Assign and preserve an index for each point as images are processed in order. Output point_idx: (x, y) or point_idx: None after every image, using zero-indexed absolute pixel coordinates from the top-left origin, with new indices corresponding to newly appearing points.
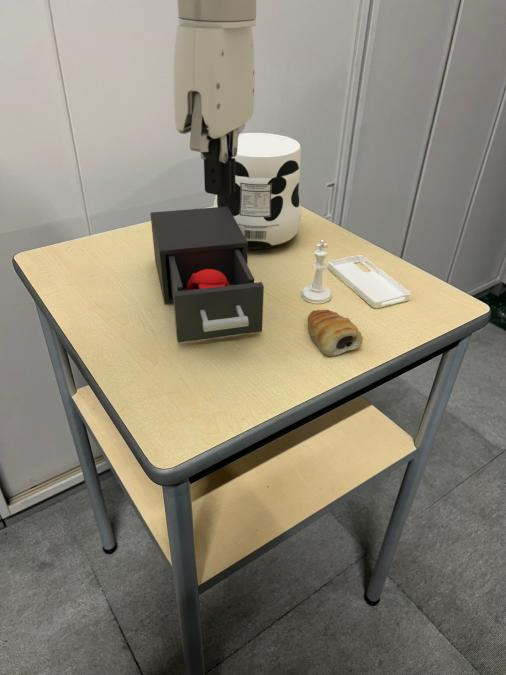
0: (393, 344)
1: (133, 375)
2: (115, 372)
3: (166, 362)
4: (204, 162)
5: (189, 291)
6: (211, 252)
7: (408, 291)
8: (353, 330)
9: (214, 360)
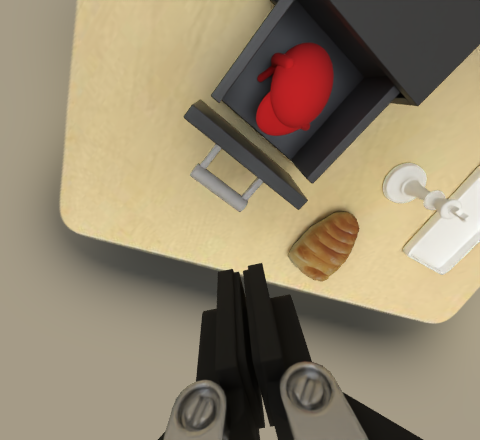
0: (344, 287)
1: (113, 101)
2: (98, 74)
3: (162, 117)
4: (216, 354)
5: (212, 128)
6: None
7: (446, 271)
8: (321, 278)
9: None
